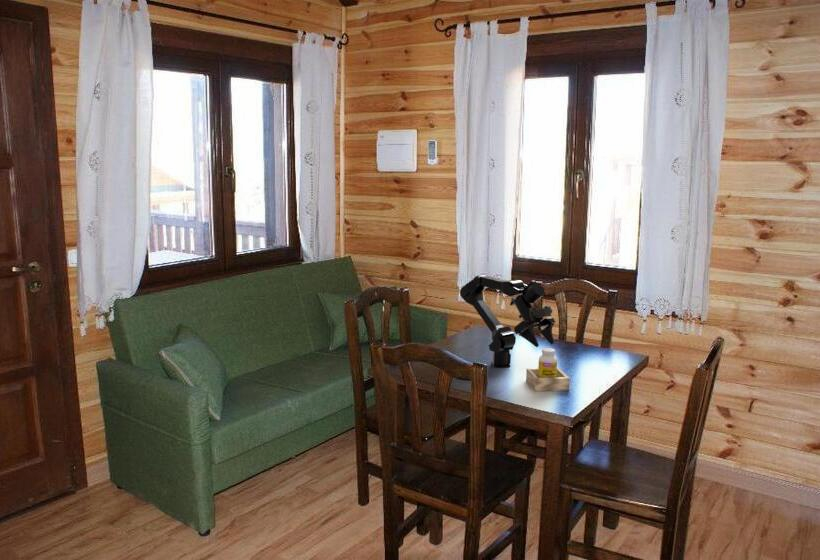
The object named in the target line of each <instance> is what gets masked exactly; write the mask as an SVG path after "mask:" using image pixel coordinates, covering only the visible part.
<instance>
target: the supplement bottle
mask: <svg viewBox="0 0 820 560" xmlns="http://www.w3.org/2000/svg"><path fill="white" fill-rule="evenodd" d="M555 354H556V350H555V348H550V347H544V348H542V349H541V355H540V356H539V357H538V367H537V368H538V378H556V377H557V368H558V358H557V356H555Z"/></svg>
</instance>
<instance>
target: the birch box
mask: <svg viewBox="0 0 820 560" xmlns="http://www.w3.org/2000/svg"><path fill="white" fill-rule="evenodd" d="M525 380H526V382H527V384H529V385H530V387H531V388H532V389H533V390H534V391H535V392H561V391H562V392H563V391H565V392H566V390H568V391H570V385H571V383H570V381H571V378H570V376H568V375H567V374H566V373H565V372H564V371H563V370H562V369H560V368H559V367H557V377H556V378H538V367H537V368H536V367H535V368H534V367H533V368H526V374H525Z"/></svg>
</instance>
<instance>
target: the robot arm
mask: <svg viewBox="0 0 820 560" xmlns="http://www.w3.org/2000/svg"><path fill="white" fill-rule="evenodd" d="M485 288H490V289H494V290H497V291H500V292H501V293H502V294H503V295H506V296H507V297H511V300H510V303H509V305H510V306H515V307H516V309H517V312H518V313H519V315H518V318H519V319H522V321H520V322H519V323H518V324H516V325H515V326H514V328H513V330H512V328H511V327H510V326H509V325H506V326H504V325H502V323H501V322H500V321H499V319H498V318H497V317H496V315H495V314H494V313H493V311H492V310H491V308H490V307H489V305H488V303H486V301H485V300H484V290H485ZM459 293H460V297H461V299H463V301H464V302H466V303H467V304H469V305H470V306H471V307H473V308H474V310H475V311H476V312H477V314H478V315H479V317H480V318H481V320H482V321H483V322H484V324H485V325H486V326H487V328H488V329H489V331H490V332H491V339H492V341H491V343H489V344H488V349H489V351H491V352H492V353H491V354H492V358H491V359H492V360H491V362H490V363H491V365H492V366H493V367H494V368H508V367H509V368H511V363H512V362H511V356H512V354H511V353H510V352H511V351H513V349H514V346H515V345H516V340H517V338H516V335H518V336H519V337H522V338H523V339H524V340H526V341H527V342H529V343H530V344H531V345H533V346H534V347H535V348H538V347H539V346H540V344H539V342H538V340H537V337H536V335H535V333H534V329H536V328H537V329H538V330H539V333H540V334H541V335H542V336H543V337H544V339H546V341H547V342H548V343H550V345H554V337H553V328H554V326H555V324H556V319H555V318H554V317H552V313H553V309H552V307H551V306H550V305H545V306H543V308H537V307H534V306H533V304H535V303H536V302H538V301H539V300H540V299H541V298H542V297H543V296H545V293H546V290H545V288H544V286H542V285H541V284H540V283H537V281H536V280H531V281H530V282H529V283H528V284H525V283H524V282H523V280H521V279H513V280H511V279H510V280H507V279H506V280H505V279H503V278H502V279H501V278H498V277H493V276H488V275H486V274H481V275H475V276H474V278H473V279H472V280H470V281H468V282H467V283H466V284H465V285H463V286H462V287H461V288H460V292H459ZM515 296H516V297H515ZM513 297H514V298H513Z"/></svg>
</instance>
